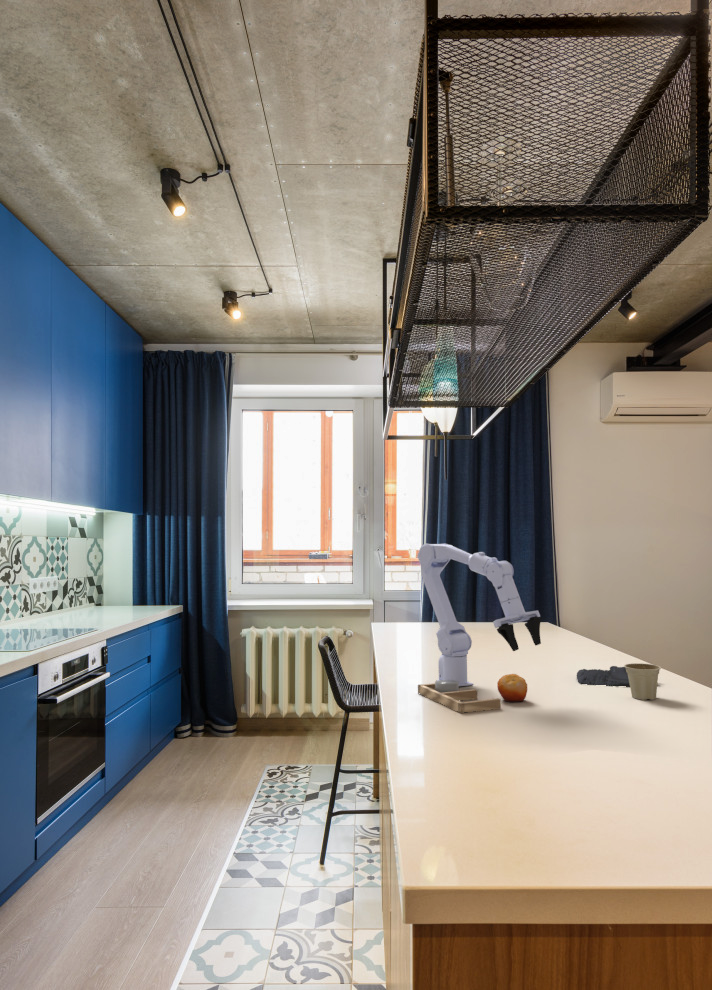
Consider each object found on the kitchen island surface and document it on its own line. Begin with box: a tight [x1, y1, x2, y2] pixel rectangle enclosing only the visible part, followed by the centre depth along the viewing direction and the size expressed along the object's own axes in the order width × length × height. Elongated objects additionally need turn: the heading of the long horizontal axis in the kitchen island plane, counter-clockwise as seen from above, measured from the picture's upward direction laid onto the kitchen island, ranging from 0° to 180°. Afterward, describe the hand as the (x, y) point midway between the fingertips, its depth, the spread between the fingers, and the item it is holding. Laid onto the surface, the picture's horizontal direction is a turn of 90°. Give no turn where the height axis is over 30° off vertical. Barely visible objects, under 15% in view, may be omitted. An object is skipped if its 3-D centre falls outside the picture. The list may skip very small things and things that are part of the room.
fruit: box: [497, 673, 528, 703], centre depth 181 cm, size 8×8×8 cm
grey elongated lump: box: [576, 665, 630, 688], centre depth 204 cm, size 15×22×5 cm
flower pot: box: [623, 662, 662, 701], centre depth 183 cm, size 9×9×9 cm
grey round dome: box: [434, 679, 460, 693], centre depth 187 cm, size 7×7×4 cm
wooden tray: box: [417, 682, 502, 714], centre depth 181 cm, size 24×12×2 cm, turn 21°
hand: (527, 647), depth 183 cm, fingers open, 7 cm apart
